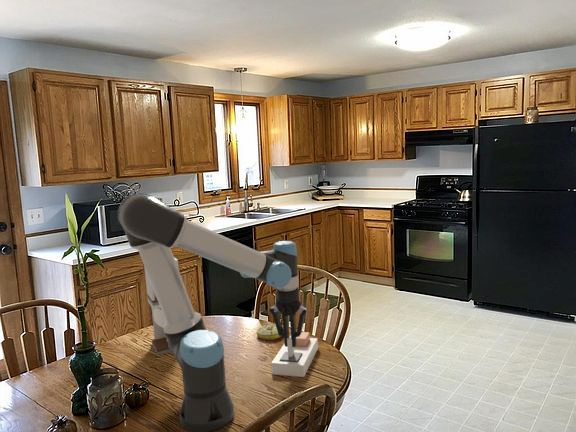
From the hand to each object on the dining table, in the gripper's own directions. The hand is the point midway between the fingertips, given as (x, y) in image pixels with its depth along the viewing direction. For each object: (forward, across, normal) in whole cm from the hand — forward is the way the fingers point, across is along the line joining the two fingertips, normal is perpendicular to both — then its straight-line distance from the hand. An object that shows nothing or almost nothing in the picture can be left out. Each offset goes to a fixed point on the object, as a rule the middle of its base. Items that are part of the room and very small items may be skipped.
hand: (291, 355), depth 154 cm
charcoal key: (+3, 0, 0) cm, 3 cm away
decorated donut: (+5, +16, -26) cm, 31 cm away
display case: (+5, +53, -10) cm, 54 cm away
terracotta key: (+1, 0, -12) cm, 12 cm away
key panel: (+5, 0, -6) cm, 8 cm away
